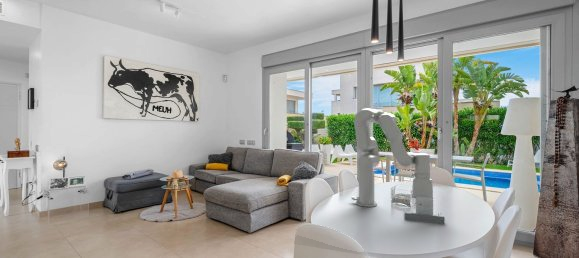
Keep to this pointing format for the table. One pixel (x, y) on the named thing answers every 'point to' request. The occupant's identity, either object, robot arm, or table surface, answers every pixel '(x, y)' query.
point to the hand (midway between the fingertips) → (422, 209)
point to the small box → (424, 205)
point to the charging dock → (424, 217)
